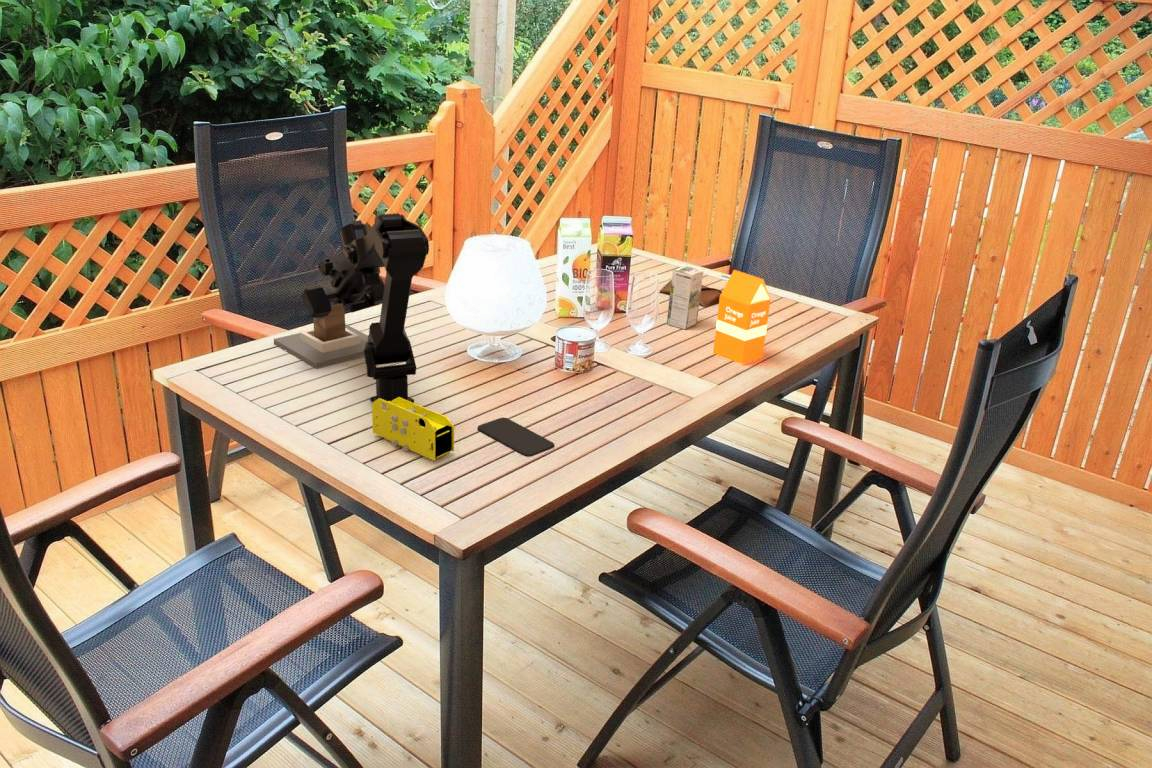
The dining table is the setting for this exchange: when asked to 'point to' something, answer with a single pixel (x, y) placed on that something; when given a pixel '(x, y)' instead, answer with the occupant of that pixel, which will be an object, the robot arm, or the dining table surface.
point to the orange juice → (742, 318)
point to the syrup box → (684, 297)
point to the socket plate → (324, 347)
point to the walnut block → (331, 325)
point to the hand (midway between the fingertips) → (333, 314)
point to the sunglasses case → (706, 297)
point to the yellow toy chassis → (413, 427)
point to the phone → (515, 437)
